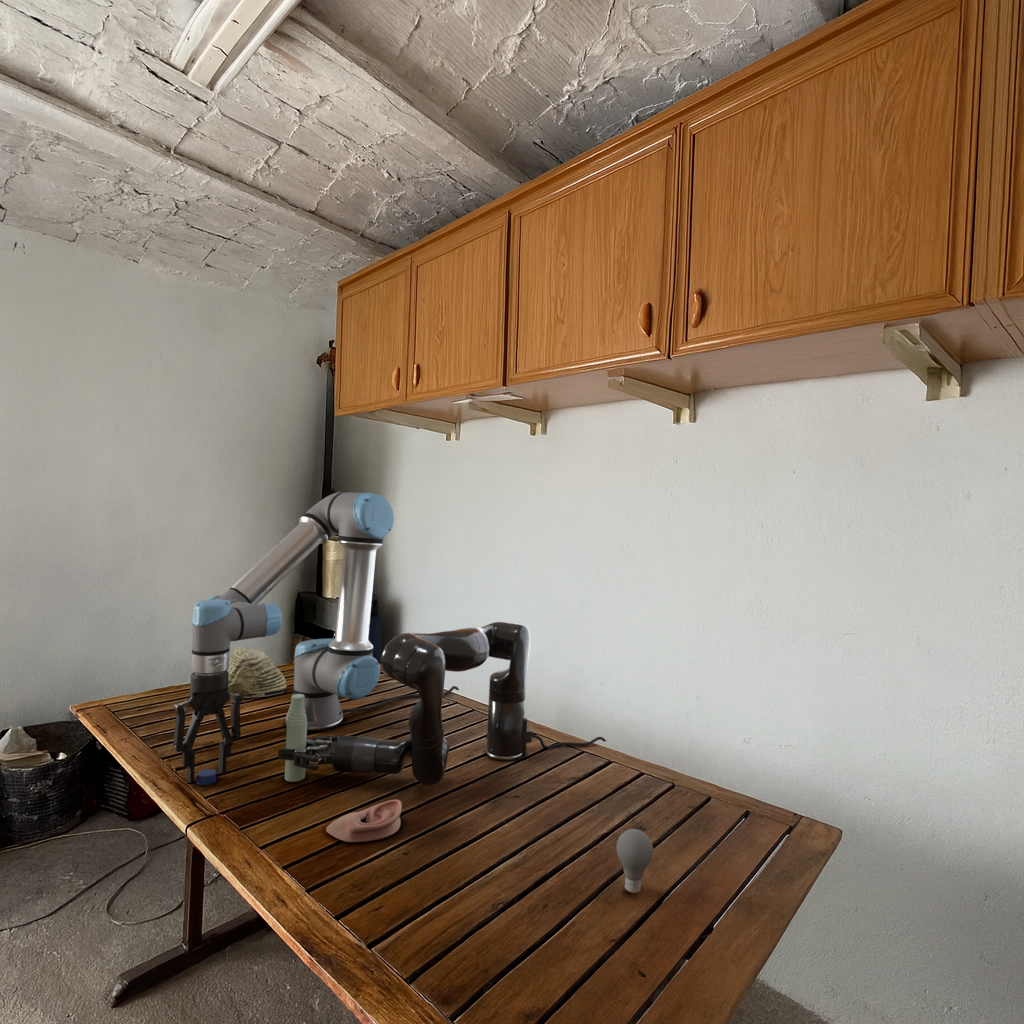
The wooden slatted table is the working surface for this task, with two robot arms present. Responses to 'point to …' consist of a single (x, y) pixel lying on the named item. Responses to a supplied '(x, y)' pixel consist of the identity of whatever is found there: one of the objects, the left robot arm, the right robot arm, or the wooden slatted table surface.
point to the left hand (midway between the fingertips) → (206, 776)
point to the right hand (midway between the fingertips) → (284, 749)
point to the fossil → (254, 674)
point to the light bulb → (634, 857)
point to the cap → (206, 777)
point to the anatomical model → (368, 823)
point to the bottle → (296, 736)
